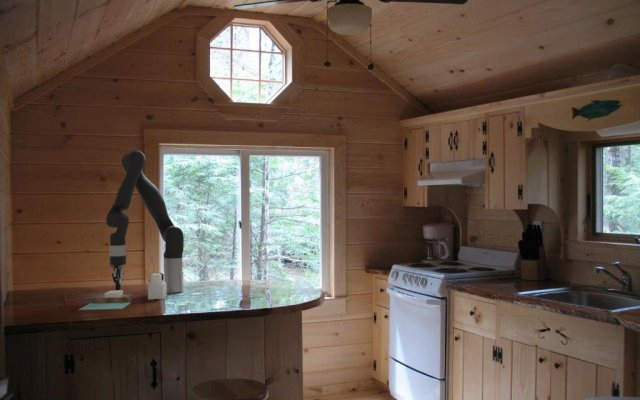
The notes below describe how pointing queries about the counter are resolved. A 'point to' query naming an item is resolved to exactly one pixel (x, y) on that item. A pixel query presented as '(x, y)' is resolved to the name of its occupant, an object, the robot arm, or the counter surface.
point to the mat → (104, 306)
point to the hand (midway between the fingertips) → (118, 291)
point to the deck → (114, 299)
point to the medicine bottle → (157, 287)
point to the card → (113, 293)
